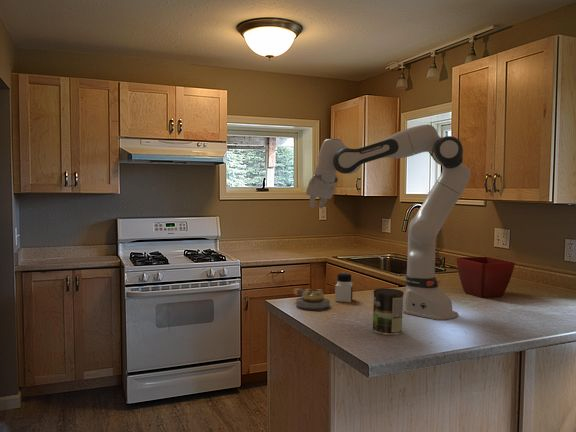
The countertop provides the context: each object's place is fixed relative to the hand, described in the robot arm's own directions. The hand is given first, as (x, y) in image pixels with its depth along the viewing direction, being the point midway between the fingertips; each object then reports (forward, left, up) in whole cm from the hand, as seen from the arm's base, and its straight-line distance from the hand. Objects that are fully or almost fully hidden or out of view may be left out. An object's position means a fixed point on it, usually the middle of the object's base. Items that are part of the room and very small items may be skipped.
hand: (316, 207), depth 212 cm
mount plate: (-5, +5, -41) cm, 42 cm away
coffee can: (-47, +7, -41) cm, 63 cm away
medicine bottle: (-4, -14, -41) cm, 44 cm away
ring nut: (-1, +5, -38) cm, 39 cm away
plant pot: (-33, -79, -41) cm, 95 cm away
